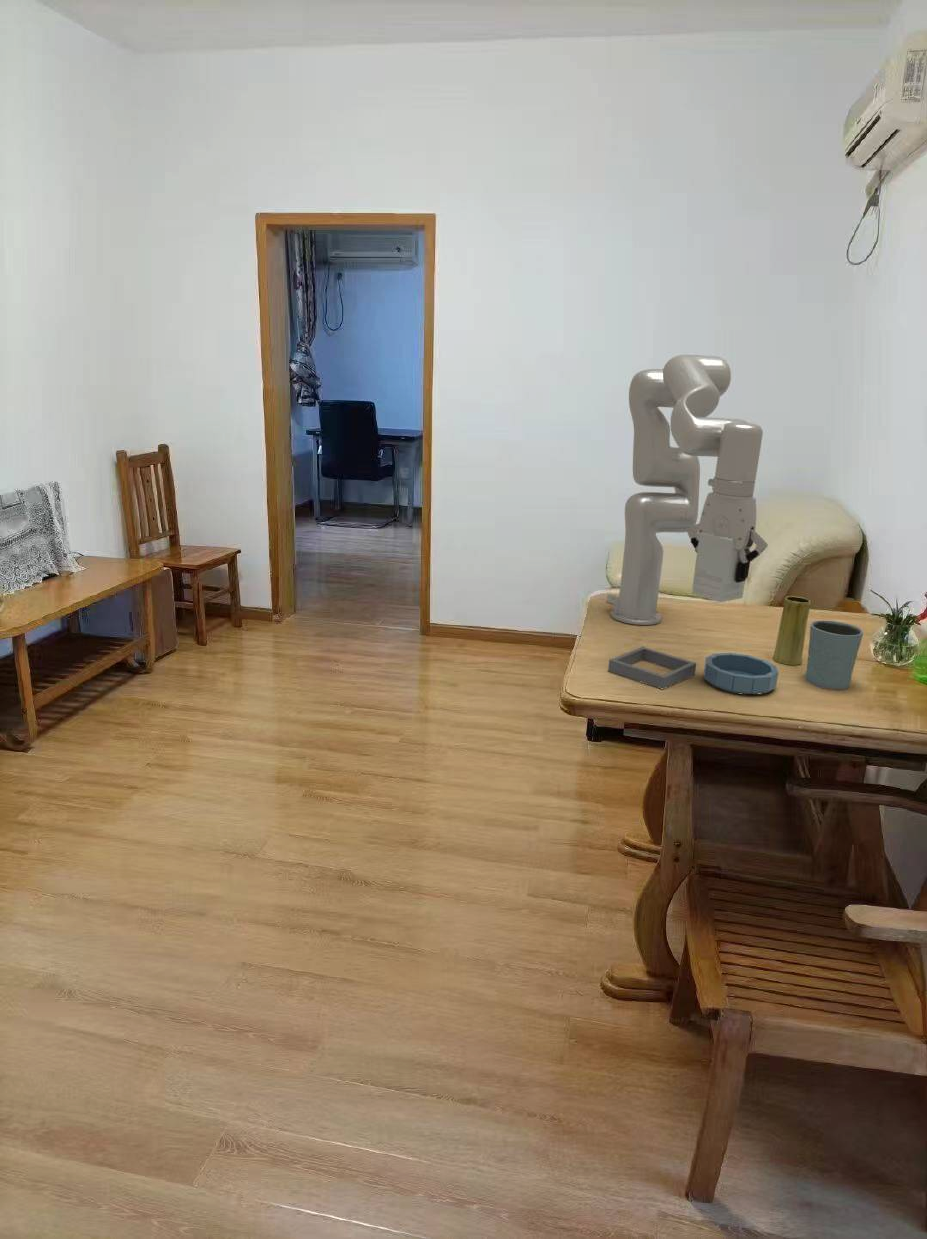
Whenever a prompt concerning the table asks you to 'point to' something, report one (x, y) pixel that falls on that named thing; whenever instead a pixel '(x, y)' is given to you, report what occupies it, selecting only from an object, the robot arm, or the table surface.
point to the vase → (792, 631)
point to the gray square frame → (624, 667)
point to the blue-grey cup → (832, 654)
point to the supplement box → (717, 569)
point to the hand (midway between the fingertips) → (720, 576)
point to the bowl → (740, 673)
